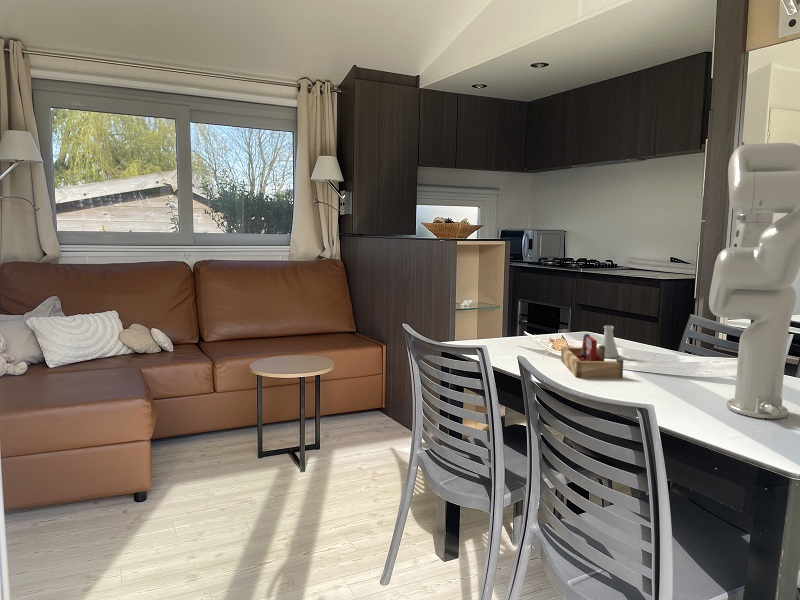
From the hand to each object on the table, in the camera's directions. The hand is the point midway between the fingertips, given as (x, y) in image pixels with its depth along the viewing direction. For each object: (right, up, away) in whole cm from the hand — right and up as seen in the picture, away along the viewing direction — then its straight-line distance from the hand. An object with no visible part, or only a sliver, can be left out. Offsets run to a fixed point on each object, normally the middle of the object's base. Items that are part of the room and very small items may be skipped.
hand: (750, 286), depth 160 cm
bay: (-38, -25, +18) cm, 49 cm away
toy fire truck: (-39, -25, +18) cm, 50 cm away
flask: (-27, -23, +34) cm, 49 cm away
